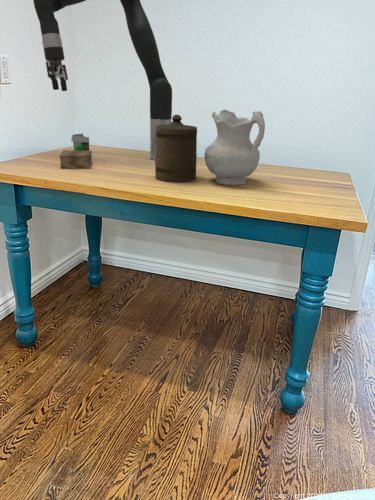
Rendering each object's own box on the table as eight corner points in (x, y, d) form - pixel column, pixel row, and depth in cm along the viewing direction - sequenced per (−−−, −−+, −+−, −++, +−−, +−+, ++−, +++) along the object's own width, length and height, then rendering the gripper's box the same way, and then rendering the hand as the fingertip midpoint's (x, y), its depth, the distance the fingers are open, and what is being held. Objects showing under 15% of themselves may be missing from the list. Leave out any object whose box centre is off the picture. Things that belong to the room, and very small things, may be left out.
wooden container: (178, 171, 162) (179, 112, 153) (204, 179, 151) (207, 116, 143) (147, 176, 153) (146, 113, 144) (172, 184, 142) (173, 117, 134)
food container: (70, 157, 183) (68, 133, 179) (84, 156, 185) (82, 133, 182) (75, 162, 173) (73, 137, 169) (90, 161, 175) (89, 137, 171)
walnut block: (92, 162, 173) (91, 150, 171) (90, 168, 162) (89, 155, 160) (64, 162, 171) (63, 150, 169) (60, 168, 160) (59, 155, 158)
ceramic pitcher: (270, 184, 151) (280, 113, 143) (250, 191, 135) (259, 110, 127) (217, 176, 161) (223, 109, 153) (192, 182, 145) (198, 106, 137)
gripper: (54, 43, 159) (62, 88, 164) (68, 49, 173) (75, 90, 178) (36, 45, 160) (44, 90, 165) (51, 51, 174) (59, 92, 179)
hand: (60, 90), depth 171 cm, fingers open, 8 cm apart
